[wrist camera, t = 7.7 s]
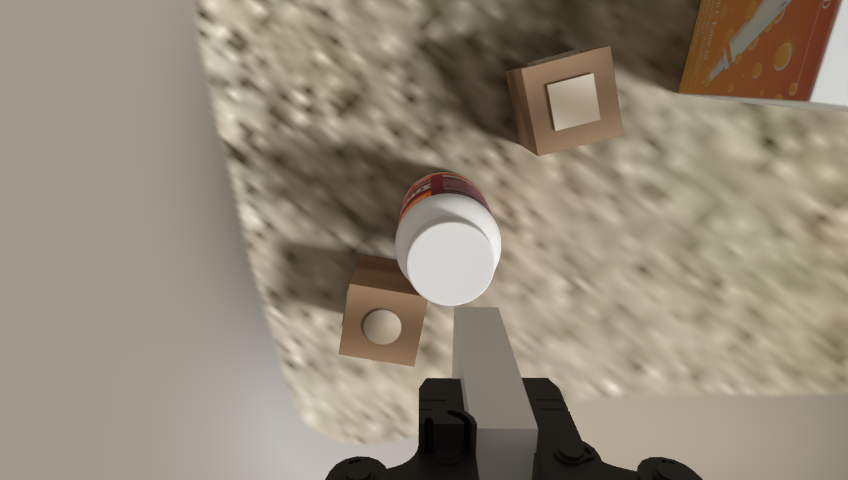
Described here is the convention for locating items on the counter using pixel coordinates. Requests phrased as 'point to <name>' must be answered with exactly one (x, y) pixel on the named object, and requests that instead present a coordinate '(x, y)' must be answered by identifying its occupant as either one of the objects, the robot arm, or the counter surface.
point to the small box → (770, 53)
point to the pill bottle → (447, 239)
